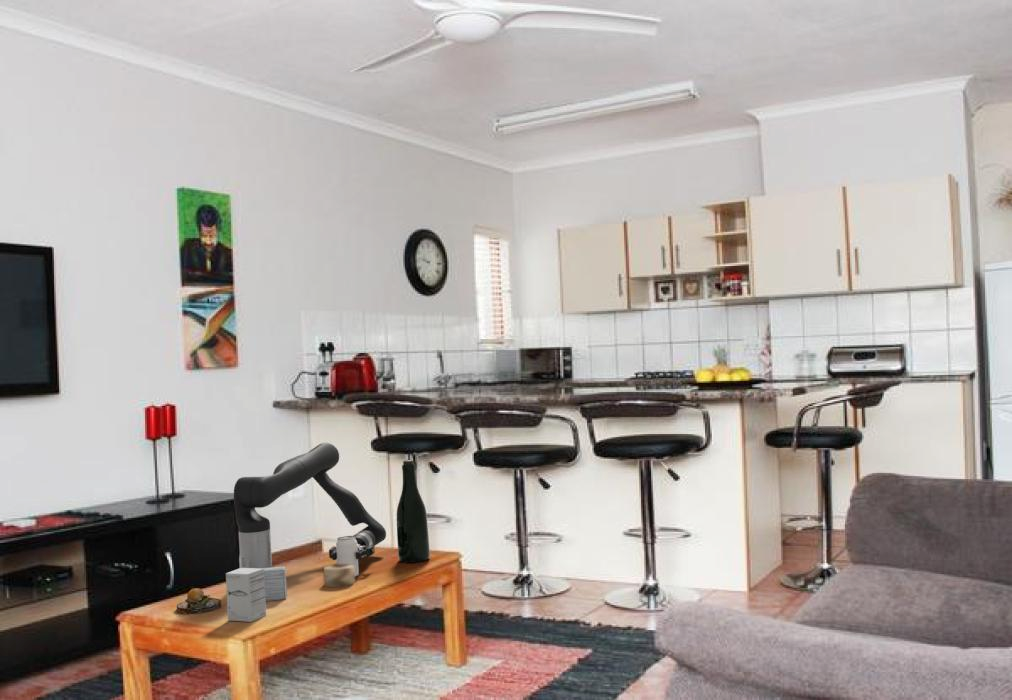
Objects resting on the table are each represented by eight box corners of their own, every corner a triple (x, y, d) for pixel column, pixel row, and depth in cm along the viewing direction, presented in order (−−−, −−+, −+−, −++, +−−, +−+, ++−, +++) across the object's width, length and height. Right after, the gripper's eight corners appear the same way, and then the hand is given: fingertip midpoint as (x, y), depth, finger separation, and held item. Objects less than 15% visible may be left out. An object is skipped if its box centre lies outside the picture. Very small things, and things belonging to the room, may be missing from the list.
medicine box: (287, 596, 276) (285, 565, 276) (286, 599, 271) (284, 569, 271) (258, 598, 274) (257, 568, 275) (257, 602, 270) (256, 571, 270)
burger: (229, 607, 267) (228, 580, 268) (193, 617, 258) (191, 589, 258) (204, 602, 275) (202, 576, 275) (167, 611, 265) (166, 584, 266)
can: (361, 573, 301) (359, 535, 301) (355, 578, 294) (353, 539, 295) (340, 574, 302) (339, 535, 302) (335, 578, 295) (333, 539, 295)
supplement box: (226, 621, 251) (224, 573, 251) (244, 613, 258) (241, 566, 258) (250, 622, 248) (248, 573, 248) (267, 615, 255) (264, 567, 255)
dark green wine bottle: (406, 556, 324) (400, 458, 325) (435, 556, 321) (428, 458, 321) (393, 563, 314) (386, 462, 315) (422, 563, 311) (416, 461, 311)
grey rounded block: (327, 589, 282) (326, 572, 282) (322, 583, 291) (321, 566, 291) (357, 585, 286) (357, 568, 286) (351, 579, 294) (350, 562, 294)
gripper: (336, 535, 313) (322, 544, 297) (379, 533, 312) (367, 543, 295) (337, 558, 313) (323, 569, 296) (380, 556, 312) (368, 567, 295)
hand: (345, 556), depth 296 cm, fingers open, 7 cm apart
